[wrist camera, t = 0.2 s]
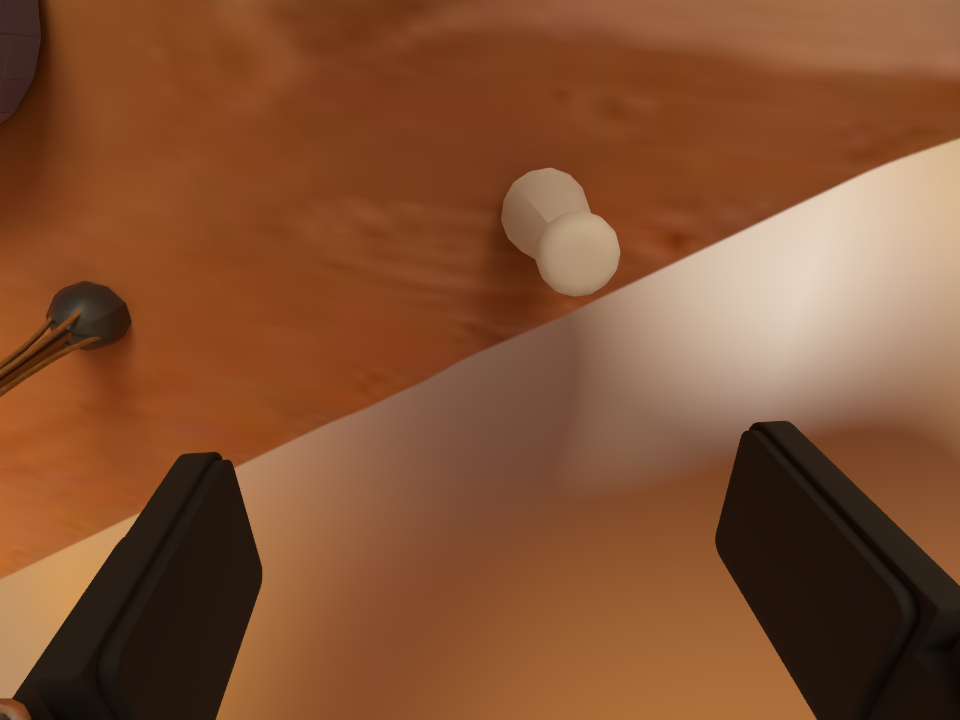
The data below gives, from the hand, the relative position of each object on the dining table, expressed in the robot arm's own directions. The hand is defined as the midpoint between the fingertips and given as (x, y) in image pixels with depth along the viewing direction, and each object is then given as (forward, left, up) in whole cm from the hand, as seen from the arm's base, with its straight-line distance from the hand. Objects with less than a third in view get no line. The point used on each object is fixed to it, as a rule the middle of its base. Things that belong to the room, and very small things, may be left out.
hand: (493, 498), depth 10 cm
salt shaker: (+1, +6, -31) cm, 32 cm away
